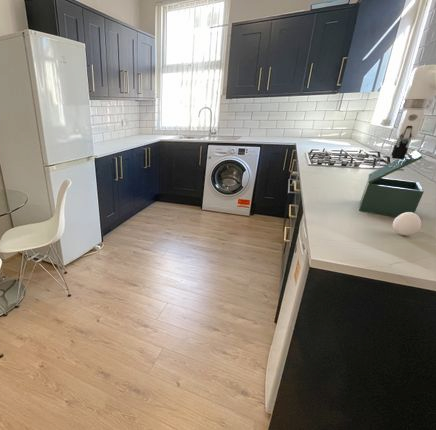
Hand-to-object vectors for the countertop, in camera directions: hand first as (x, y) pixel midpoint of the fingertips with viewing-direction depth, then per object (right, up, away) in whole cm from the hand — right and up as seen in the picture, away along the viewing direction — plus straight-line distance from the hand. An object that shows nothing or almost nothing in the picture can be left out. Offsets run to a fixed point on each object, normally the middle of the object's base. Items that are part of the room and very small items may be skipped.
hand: (397, 156), depth 103 cm
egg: (-13, -28, -14) cm, 34 cm away
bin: (+1, -19, +7) cm, 21 cm away
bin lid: (0, -4, +1) cm, 4 cm away
